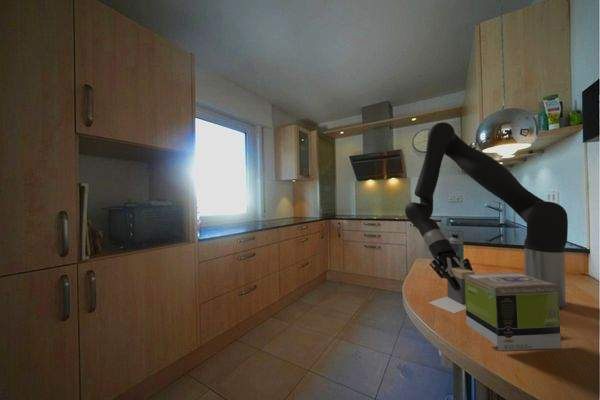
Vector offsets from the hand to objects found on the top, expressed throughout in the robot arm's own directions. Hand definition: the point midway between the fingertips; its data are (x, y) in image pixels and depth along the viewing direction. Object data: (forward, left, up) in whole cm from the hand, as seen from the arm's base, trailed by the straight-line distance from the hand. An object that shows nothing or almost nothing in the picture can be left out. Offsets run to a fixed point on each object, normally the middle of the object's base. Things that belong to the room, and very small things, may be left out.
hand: (465, 289), depth 74 cm
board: (+3, -2, -6) cm, 7 cm away
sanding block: (-1, -2, -4) cm, 5 cm away
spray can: (-19, -14, -6) cm, 24 cm away
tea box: (+9, +15, -6) cm, 18 cm away
